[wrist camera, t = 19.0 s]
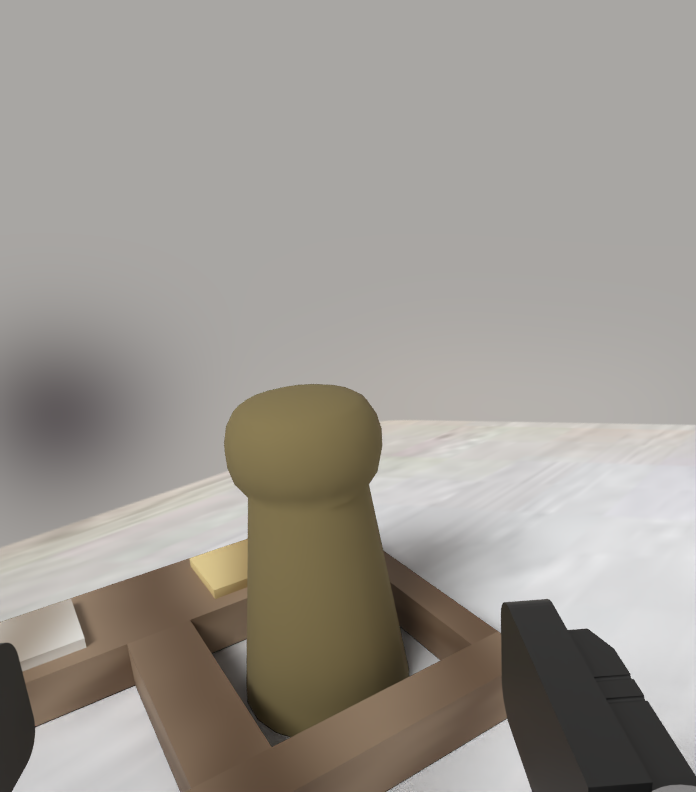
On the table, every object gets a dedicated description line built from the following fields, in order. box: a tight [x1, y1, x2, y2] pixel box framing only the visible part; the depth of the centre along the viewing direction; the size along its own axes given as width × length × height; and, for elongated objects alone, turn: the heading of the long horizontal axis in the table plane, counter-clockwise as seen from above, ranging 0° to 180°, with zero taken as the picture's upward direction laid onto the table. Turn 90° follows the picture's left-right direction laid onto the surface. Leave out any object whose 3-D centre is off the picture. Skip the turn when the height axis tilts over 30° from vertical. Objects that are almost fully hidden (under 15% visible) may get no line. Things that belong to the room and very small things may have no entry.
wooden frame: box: [0, 539, 507, 792], centre depth 23 cm, size 20×14×2 cm
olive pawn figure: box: [224, 384, 409, 737], centre depth 22 cm, size 6×6×11 cm
